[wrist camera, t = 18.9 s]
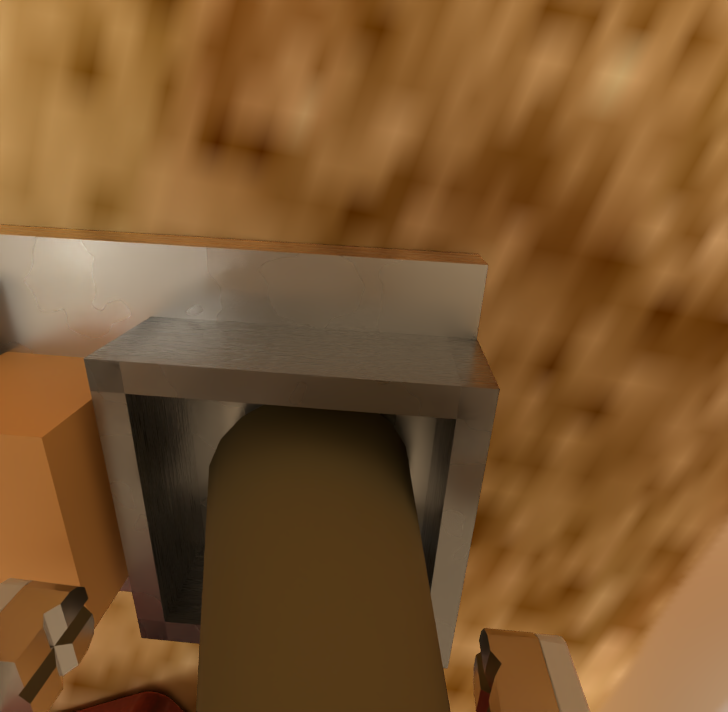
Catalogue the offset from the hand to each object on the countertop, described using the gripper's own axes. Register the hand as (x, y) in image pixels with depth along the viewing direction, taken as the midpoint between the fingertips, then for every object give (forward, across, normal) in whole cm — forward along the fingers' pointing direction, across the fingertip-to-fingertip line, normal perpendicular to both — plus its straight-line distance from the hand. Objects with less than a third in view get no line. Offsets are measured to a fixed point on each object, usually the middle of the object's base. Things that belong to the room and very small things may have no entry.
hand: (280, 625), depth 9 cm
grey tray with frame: (+7, +3, 0) cm, 8 cm away
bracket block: (+5, +7, 0) cm, 9 cm away
